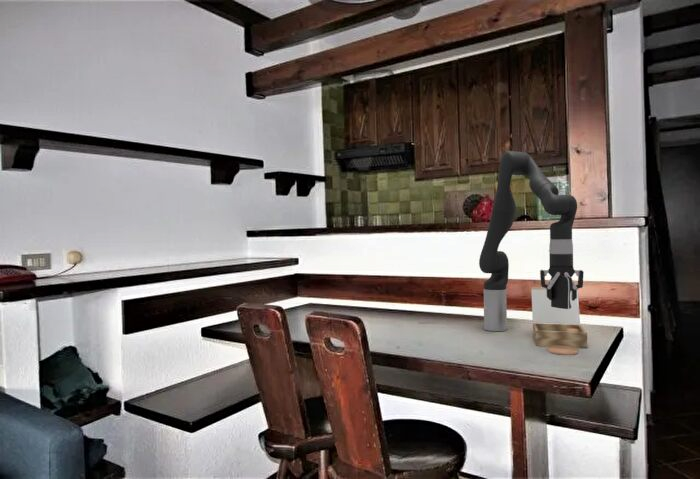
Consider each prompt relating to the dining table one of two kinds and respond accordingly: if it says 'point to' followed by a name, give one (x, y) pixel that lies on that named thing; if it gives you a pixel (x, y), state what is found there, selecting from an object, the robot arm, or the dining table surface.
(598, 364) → the dining table surface
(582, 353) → the dining table surface
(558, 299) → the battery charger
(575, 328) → the peach rounded capsule
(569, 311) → the lid
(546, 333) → the wooden box
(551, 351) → the saucer
